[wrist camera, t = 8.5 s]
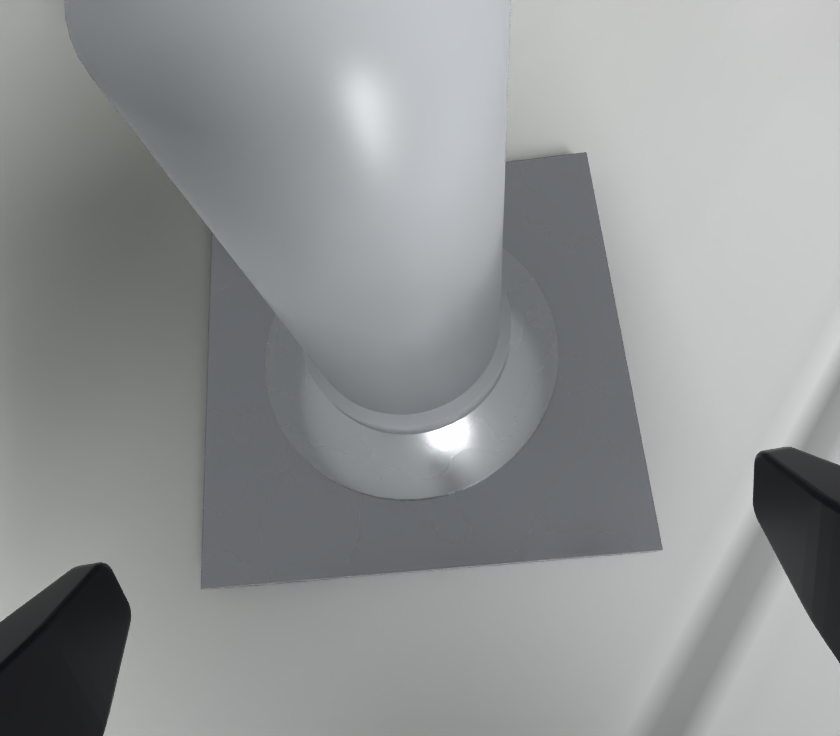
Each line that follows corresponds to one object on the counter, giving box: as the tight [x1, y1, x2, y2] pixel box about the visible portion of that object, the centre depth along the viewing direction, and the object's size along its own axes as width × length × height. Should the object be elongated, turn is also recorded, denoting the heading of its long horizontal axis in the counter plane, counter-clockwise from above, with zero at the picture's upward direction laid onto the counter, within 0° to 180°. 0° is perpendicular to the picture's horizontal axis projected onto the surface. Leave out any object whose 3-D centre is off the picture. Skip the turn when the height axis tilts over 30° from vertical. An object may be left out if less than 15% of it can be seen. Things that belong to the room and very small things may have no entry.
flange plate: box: [201, 152, 663, 589], centre depth 19 cm, size 12×12×1 cm
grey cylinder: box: [65, 0, 511, 435], centre depth 13 cm, size 6×6×12 cm
